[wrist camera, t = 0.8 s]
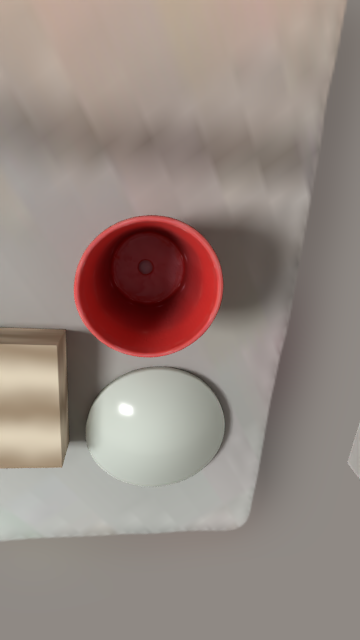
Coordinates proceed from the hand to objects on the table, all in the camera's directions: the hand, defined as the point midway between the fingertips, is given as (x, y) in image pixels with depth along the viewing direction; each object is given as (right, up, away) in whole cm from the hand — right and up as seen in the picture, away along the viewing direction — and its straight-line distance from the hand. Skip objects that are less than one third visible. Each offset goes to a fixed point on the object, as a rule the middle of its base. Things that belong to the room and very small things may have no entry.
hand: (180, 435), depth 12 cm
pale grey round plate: (-3, -9, +29) cm, 30 cm away
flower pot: (-3, +9, +22) cm, 25 cm away
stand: (-19, -3, +25) cm, 32 cm away
